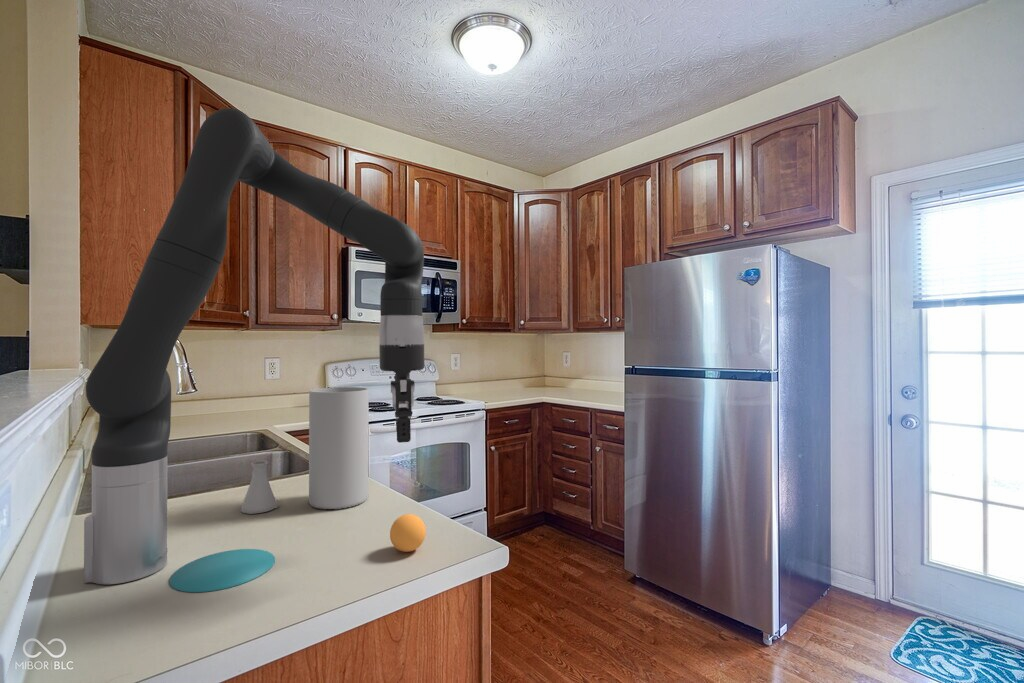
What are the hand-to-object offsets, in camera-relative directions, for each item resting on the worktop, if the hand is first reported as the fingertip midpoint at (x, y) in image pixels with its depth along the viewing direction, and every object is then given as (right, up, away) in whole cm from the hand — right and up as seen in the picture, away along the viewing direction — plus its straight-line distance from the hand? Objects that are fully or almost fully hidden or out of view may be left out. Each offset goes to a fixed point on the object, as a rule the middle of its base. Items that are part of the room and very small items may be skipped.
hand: (403, 436), depth 83 cm
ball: (+1, -16, -1) cm, 16 cm away
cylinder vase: (-20, -20, +25) cm, 37 cm away
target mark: (-26, -19, -8) cm, 33 cm away
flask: (-35, -20, +20) cm, 45 cm away
